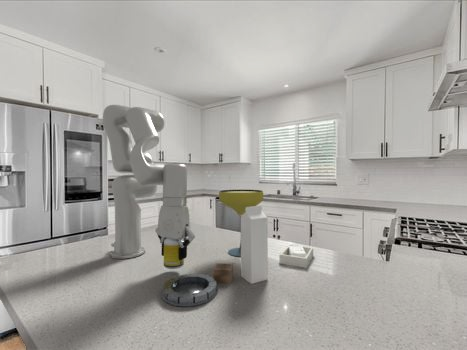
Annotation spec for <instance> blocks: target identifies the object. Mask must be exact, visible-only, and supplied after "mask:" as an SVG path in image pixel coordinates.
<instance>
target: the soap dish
mask: <svg viewBox="0 0 467 350" xmlns="http://www.w3.org/2000/svg"><path fill="white" fill-rule="evenodd" d="M289 246H297V245H294V244H288V245H287V247H285V248H284V249H283V250H282V251H281V252H280V253H279V264H282V265H287V266H294V267H299V268H306V269H307V268H308V266H309V264H310V262H311V261H312V259H313V258H314V247H310V246H301V245H299V246H300V247H303V249H304V251H305V253H306V257H305V258H303V257H296V256H290V255H289Z"/></svg>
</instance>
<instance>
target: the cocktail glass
mask: <svg viewBox="0 0 467 350" xmlns="http://www.w3.org/2000/svg"><path fill="white" fill-rule="evenodd" d="M264 196H265V195H264V191H263V190H261V189H224V190H219V192H218V200H219V202H220V203H222V205H224V206H226V207H228V208H230V209H232V210H234V211H235V212H236V214H238V216H240V217H241V216H242V215H243V214H244V213H245V212H246V207H253V206H259V205H260V204H261V203H262V202H263V201H264ZM227 252H228V254H229V255H230V256H233V257H238V258H241V239H240V243H239V247H234V248H231V249H229V250H228V251H227Z"/></svg>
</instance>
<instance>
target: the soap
mask: <svg viewBox="0 0 467 350" xmlns="http://www.w3.org/2000/svg"><path fill="white" fill-rule="evenodd" d="M300 246H301V245H296V246H289V255H290V256H296V257H303V258H305V257H306V253H305V251H304V249H303V247H304V246H303V247H300Z"/></svg>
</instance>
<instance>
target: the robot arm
mask: <svg viewBox="0 0 467 350" xmlns="http://www.w3.org/2000/svg"><path fill="white" fill-rule="evenodd" d="M102 125H103V129H104V131H105V134H106V136H107V138H108V139H107V140H108V142H109V149H110V155H111V163H112V166H113V169H114V171H116V172H117V173H121V174H125V175H119V176H117V177H115V178H114V179H113V180H112V183H111V191H112V196H113V202H114V240H115V241H114V242H112V243H111V244H110V245H111V247H112V248H114V250H112V251H111V253H110V257H111V258H113V259H117V260H118V259H119V260H121V259H122V260H123V259H131V258H135V257H138V256H142V255H143V254H144V253H145V252H146V248H145V247H143V246H142V218H141V217H142V216H141V215H142V214H141V212H142V210H141V207H140V204H139V203H138V202H137V201H136V199H141V198H142V199H144V198H150V197H154V195H155V194H156V193H157V189H158V186H162V197H161V202H162V205H160V209H159V213H158V220H157V227H156V228H155V230H154V231H155V234H157V235H156V236H157V237H158V240H159V242H160V244H161V256H162V257H164V240H165V239H166V238H171V239H176V240H179V244H180V248H179V260H182V259H184V260H185V259H187V255H188V246H189V245H190V244H191V242H192V241H193V240H194V239H195V238H196V235H195V234H194V232H193V231H192V230H191V221H190V220H191V218H190V212H189V206H188V204H187V203H188V202H187V201H188V200H187V197H188V195H187V194H188V167H187V165H185V164H183V163H167V162H166V163H165V162H154V161H153V160H154V159H153V158H152V156H151V155H150V154H149V152H148V151H150V150H153V149H155V147H157V146H158V144H159V143H160V137H159V134H158V133H160V132H161V131H163V129H164V128H165V118H164V116H163V114H162V113H160V111H158V110H153V109H149V108H145V107H141V106H140V107H139V106H132V107H130V106H126V105H120V104H110V105H107V106H106V107H104V109H103V113H102ZM124 128H125V129H126V128H128V129H129V131H130V134H131V136H132V137H130V135H129V133H128V132H127V131H126V130H125V129H124ZM132 138H133V141H134V143H135V144H134V145H133V141H132ZM182 239H183V240H184V242H183V240H182Z"/></svg>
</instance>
